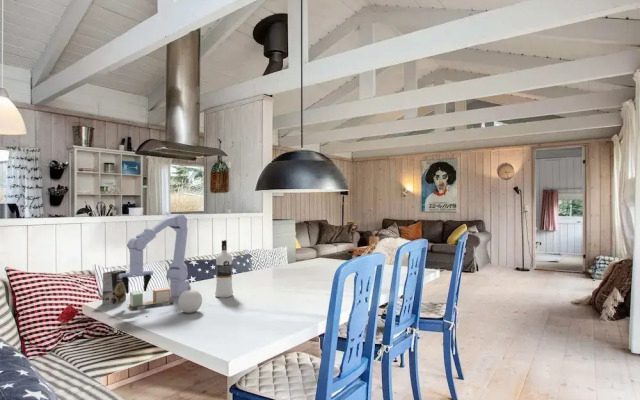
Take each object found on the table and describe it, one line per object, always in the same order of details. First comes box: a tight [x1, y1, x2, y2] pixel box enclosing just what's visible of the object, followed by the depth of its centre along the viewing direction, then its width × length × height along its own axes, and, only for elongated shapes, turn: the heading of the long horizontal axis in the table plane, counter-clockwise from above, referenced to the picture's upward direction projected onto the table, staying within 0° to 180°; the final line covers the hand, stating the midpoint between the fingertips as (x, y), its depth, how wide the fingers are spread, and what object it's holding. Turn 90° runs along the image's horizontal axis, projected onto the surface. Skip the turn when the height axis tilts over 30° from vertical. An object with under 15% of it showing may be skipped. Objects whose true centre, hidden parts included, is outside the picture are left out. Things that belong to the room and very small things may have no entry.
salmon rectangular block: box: [152, 287, 171, 303], centre depth 189 cm, size 4×7×6 cm, turn 127°
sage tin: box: [129, 290, 144, 307], centre depth 182 cm, size 4×7×6 cm, turn 37°
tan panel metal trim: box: [127, 300, 174, 311], centre depth 184 cm, size 18×13×3 cm
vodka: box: [214, 239, 234, 299], centre depth 206 cm, size 9×9×30 cm
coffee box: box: [102, 269, 127, 305], centre depth 190 cm, size 9×6×16 cm
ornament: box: [177, 285, 203, 314], centre depth 174 cm, size 10×10×12 cm
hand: (136, 291), depth 182 cm, fingers open, 7 cm apart
